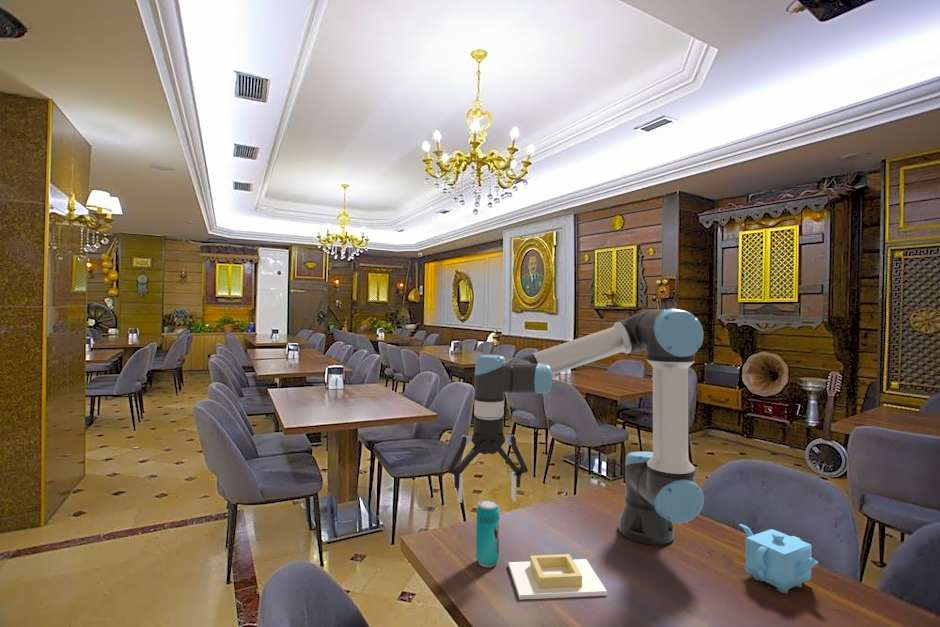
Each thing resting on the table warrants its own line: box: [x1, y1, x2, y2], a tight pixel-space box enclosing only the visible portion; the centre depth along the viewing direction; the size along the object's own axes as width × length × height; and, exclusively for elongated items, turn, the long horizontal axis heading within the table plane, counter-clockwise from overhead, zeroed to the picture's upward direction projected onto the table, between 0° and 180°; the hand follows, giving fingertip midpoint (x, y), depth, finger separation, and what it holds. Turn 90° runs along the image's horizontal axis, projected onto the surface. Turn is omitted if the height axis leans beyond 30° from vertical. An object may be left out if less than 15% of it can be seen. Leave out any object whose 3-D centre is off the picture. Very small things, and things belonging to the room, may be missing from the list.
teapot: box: [738, 523, 819, 594], centre depth 115 cm, size 16×18×11 cm
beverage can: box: [475, 499, 500, 568], centre depth 122 cm, size 6×6×15 cm
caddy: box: [507, 553, 608, 601], centre depth 114 cm, size 20×14×4 cm
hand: (486, 500), depth 122 cm, fingers open, 13 cm apart
